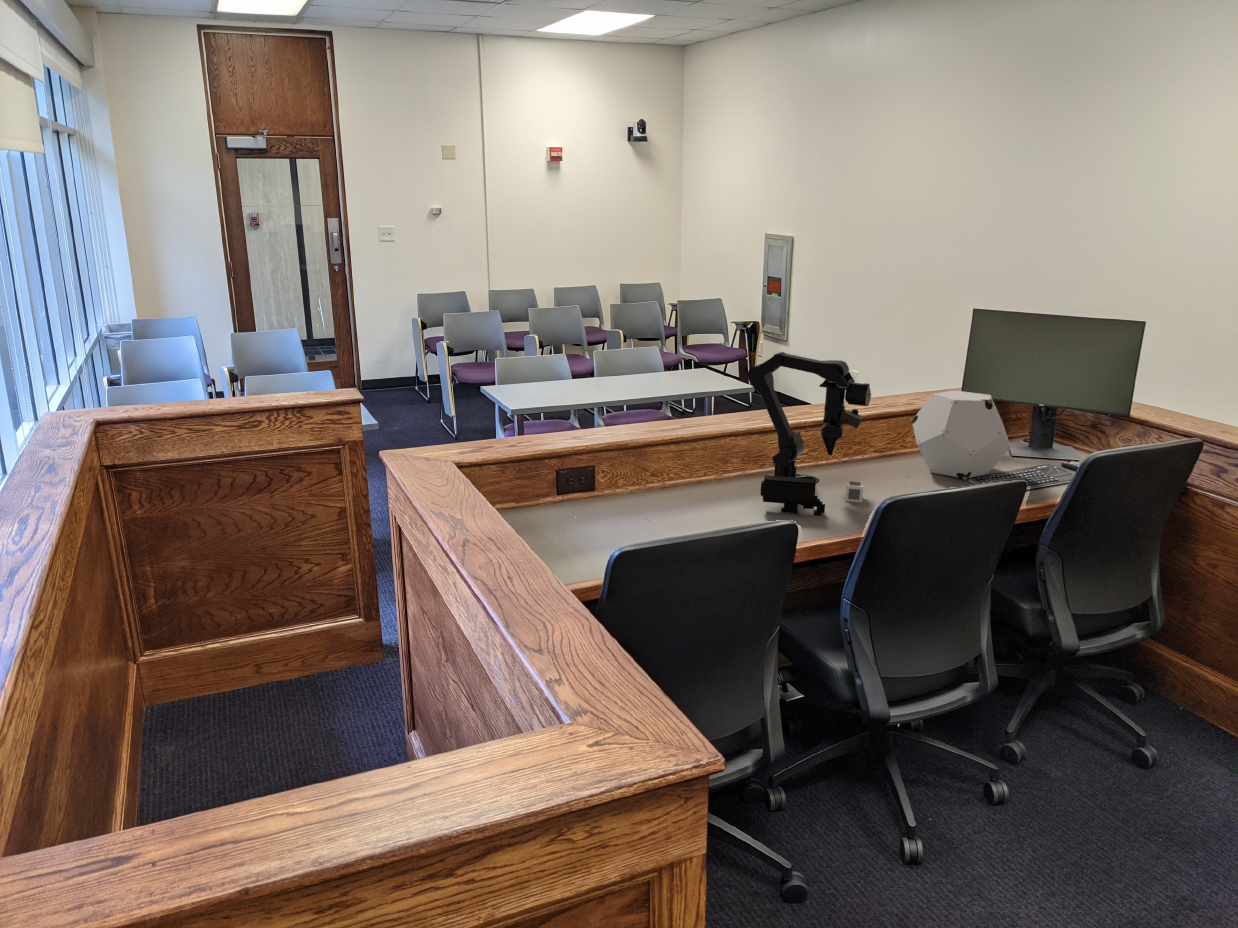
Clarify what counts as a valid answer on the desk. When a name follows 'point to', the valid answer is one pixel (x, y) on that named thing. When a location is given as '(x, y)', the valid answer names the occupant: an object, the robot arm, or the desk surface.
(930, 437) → the geometric sculpture
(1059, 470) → the desk surface
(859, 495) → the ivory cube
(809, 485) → the security camera
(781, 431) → the robot arm
